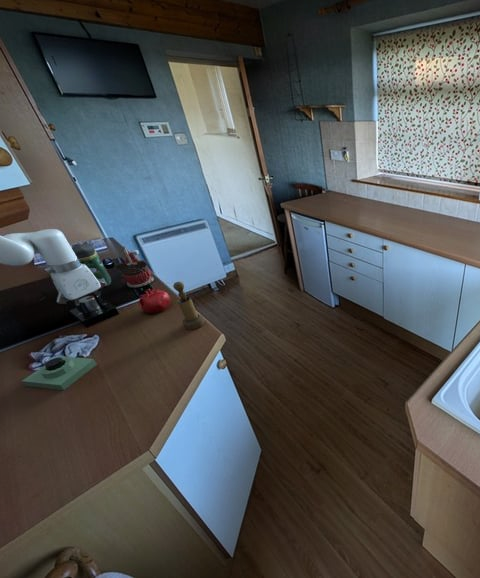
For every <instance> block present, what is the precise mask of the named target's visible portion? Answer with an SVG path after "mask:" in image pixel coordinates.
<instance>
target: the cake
mask: <svg viewBox="0 0 480 578" xmlns="http://www.w3.org/2000/svg"><path fill="white" fill-rule="evenodd" d="M122 249H123V251H124V253H125V258H124V262H119V263H117V264H116V265H115V266H116V268H117V270H120V271H122V274H121V276H122V278H123V281H125V282H127V283H126V285H127V287H129V288H134V289H135V288H140V287H143V286H146V285H149V284H151V283H153V282H154V279H155V278H154V277H153V276H151V275H152V272H151V270H150V268H149V267H147V266H148V265H149V262H148V261H147V260H145V259H139V258H138V257H136V256H138V255H139V253H140V252H139V250H137V249H134V250H132V251H130V252H128V250H127V248H126V246H122Z"/></svg>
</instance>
